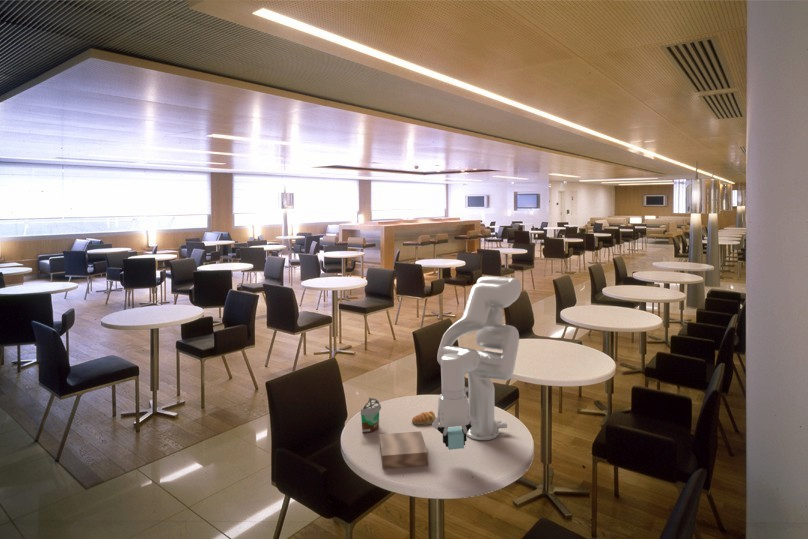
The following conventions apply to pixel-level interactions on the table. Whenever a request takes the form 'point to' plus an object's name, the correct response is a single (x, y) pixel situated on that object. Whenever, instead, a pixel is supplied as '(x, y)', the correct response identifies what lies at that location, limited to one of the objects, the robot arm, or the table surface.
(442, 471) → the table surface
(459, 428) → the teal cube
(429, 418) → the pastry
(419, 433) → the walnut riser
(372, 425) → the food container
